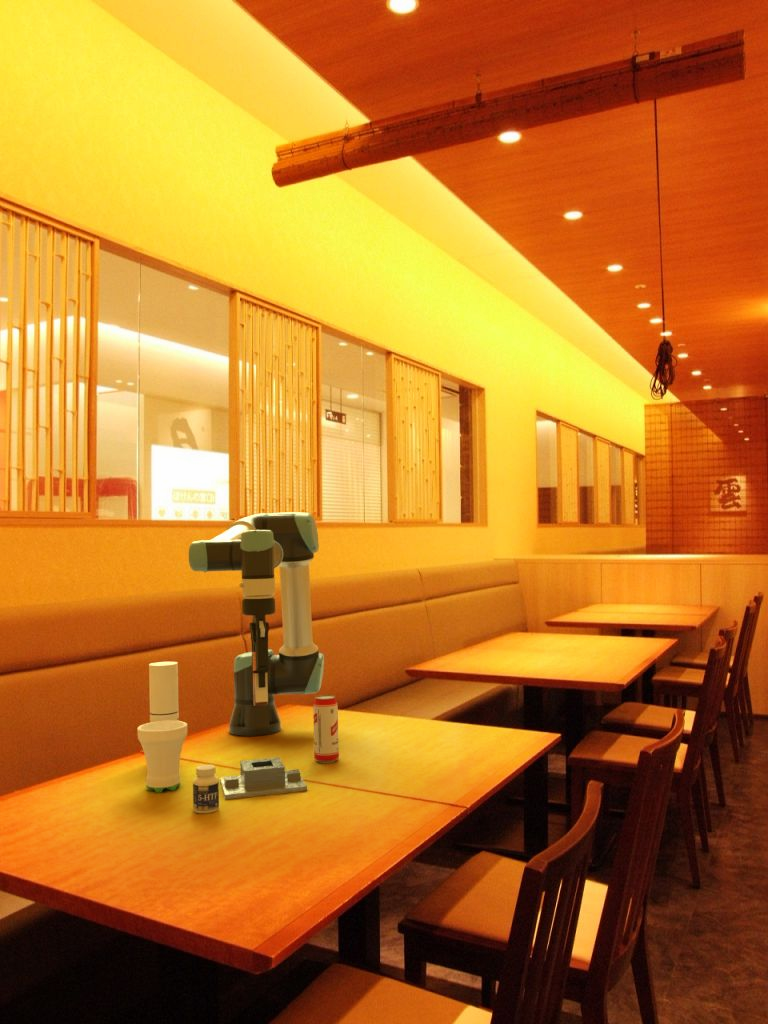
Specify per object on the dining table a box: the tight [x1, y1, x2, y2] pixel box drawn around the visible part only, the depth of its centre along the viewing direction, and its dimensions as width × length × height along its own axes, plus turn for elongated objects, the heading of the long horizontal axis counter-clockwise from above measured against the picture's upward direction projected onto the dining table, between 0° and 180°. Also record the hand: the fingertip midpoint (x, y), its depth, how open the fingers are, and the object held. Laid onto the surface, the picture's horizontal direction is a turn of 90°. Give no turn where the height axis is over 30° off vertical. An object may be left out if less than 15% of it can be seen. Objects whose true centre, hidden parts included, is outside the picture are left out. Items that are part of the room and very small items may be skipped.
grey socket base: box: [219, 756, 308, 800], centre depth 190 cm, size 14×18×5 cm
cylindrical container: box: [148, 661, 180, 723], centre depth 215 cm, size 7×7×25 cm
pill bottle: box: [192, 764, 220, 814], centre depth 174 cm, size 5×5×9 cm
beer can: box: [312, 694, 340, 764], centre depth 211 cm, size 6×6×16 cm
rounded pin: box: [253, 651, 268, 706], centre depth 191 cm, size 3×3×12 cm
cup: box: [137, 720, 188, 794], centre depth 191 cm, size 11×11×14 cm
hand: (260, 699), depth 190 cm, fingers closed on rounded pin, 3 cm apart
